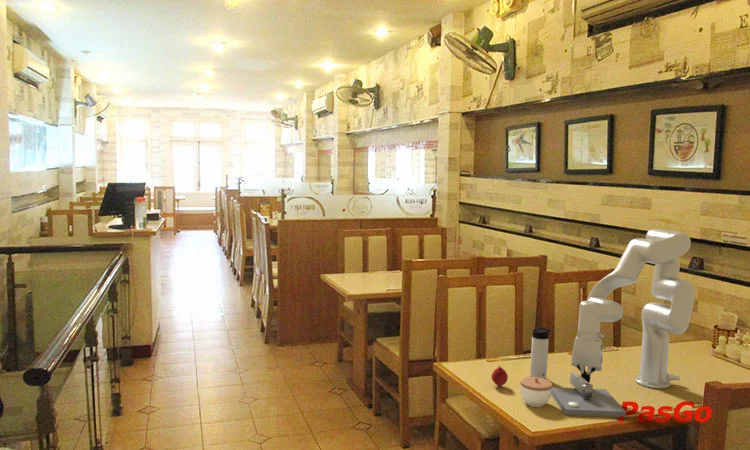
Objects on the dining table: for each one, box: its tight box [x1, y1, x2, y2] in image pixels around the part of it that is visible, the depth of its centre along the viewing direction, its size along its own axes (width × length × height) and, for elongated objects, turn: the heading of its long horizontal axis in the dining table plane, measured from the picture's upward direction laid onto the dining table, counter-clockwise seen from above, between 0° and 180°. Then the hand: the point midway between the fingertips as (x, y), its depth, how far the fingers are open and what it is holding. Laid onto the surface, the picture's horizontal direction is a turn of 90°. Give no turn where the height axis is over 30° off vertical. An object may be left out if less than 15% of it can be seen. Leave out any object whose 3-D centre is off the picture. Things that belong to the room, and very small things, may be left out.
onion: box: [491, 365, 509, 387], centre depth 228 cm, size 6×6×8 cm
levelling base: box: [551, 386, 627, 418], centre depth 214 cm, size 20×20×3 cm
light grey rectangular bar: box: [569, 371, 594, 399], centre depth 219 cm, size 15×4×5 cm, turn 2°
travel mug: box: [529, 327, 551, 380], centre depth 237 cm, size 6×7×20 cm
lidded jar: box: [519, 376, 553, 408], centre depth 213 cm, size 11×11×9 cm
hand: (585, 383), depth 224 cm, fingers closed
